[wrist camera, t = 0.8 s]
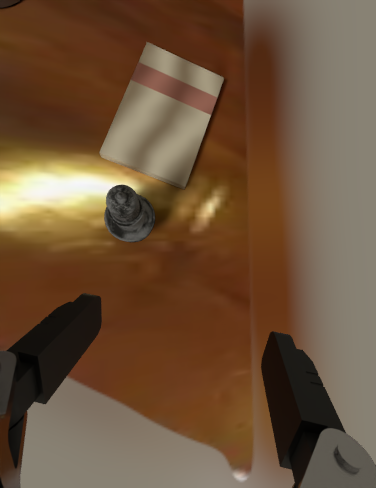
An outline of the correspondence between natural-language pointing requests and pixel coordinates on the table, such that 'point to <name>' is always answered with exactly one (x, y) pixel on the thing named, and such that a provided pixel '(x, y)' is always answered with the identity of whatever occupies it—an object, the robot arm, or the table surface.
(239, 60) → the table surface
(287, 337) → the robot arm
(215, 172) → the table surface
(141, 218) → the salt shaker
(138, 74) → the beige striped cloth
